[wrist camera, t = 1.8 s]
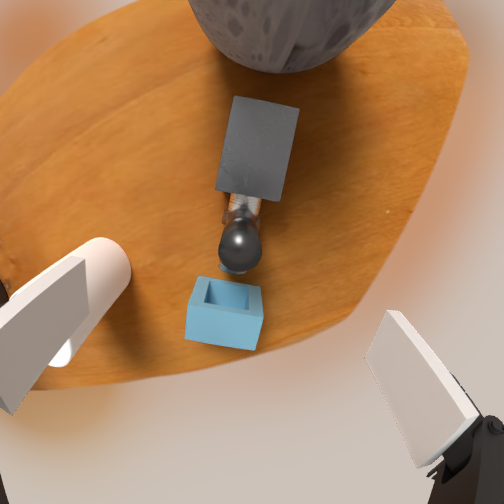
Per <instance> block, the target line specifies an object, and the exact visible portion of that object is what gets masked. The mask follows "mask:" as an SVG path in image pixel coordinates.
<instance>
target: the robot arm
mask: <svg viewBox="0 0 504 504" xmlns="http://www.w3.org/2000/svg"><path fill="white" fill-rule="evenodd" d="M89 314H90V313H89V304H88V294H87V282H86V265H85V258H81V257H76V256H72V255H71V256H70V257H68V258H67V259H65V260H64V261H62V262H61V263H59V264H58V265H57V266H55V267H54V268H52V269H51V270H50V271H48V272H47V273H45V274H44V275H43V276H41V277H40V278H38V279H37V280H36V281H34V282H33V283H32V284H30V285H29V286H28V287H26V288H25V289H24V290H23V291H21V292H20V293H19V294H17V295H16V296H15V297H14V298H12V299H11V300H10V301H9V300H8V297H7V294H6V292H5V289H4V287H3V285H2V283H1V281H0V408H2V409H3V410H5V411H6V412H8V413H9V414H11V415H13V414H14V412H15V411H16V409H17V408H18V406H19V405H20V403H21V402H22V401H23V399H24V398H25V396H26V395H27V393H28V392H29V390H30V389H31V388H32V386H33V385H34V383H35V382H36V381H37V379H38V378H39V376H40V375H41V374H42V372H43V371H44V370H45V368H46V367H47V366H48V364H49V363H50V362H51V360H52V359H53V358H54V357H55V355H56V354H57V353H58V351H59V350H60V349H61V348H62V346H63V345H64V344H65V343H66V341H67V340H68V339H69V338H70V336H71V335H72V334H73V333H74V332H75V330H76V329H77V328H78V327H79V326H80V324H81V323H82V322H83V321H84V320H85V319H86V317H87V316H88V315H89ZM364 358H365V360H366V362H367V364H368V366H369V368H370V370H371V372H372V374H373V376H374V378H375V380H376V381H377V384H378V386H379V388H380V390H381V391H382V394H383V396H384V398H385V400H386V402H387V404H388V406H389V408H390V410H391V413H392V415H393V417H394V419H395V421H396V423H397V425H398V427H399V430H400V432H401V434H402V436H403V438H404V441H405V443H406V445H407V447H408V450H409V452H410V454H411V456H412V459H413V461H414V463H415V466H416V468H417V469H418V468H421V467H424V466H427V465H430V464H432V463H433V462H434V461H435V460H437V459H438V458H439V457H440V456H441V455H443V457H444V460H443V461H442V462H441V463H439V464H438V465H437V466H436V467H435V468H434V469H432V470H431V471H430V472H429V473H428V475H427V477H430V476H431V475H432V474H433V473H435V472H436V471H437V474H436V475H434V476H433V477H432V479H434V480H435V482H434V485H433V489H432V492H431V495H430V498H429V501H428V504H504V425H503V423H502V422H501V421H500V420H499V419H498V418H496V417H495V416H491V415H488V416H486V417H485V418H484V417H483V416H482V415H481V413H480V411H479V410H478V409H477V407H476V406H475V404H474V403H473V401H472V400H471V399H470V397H469V396H468V394H467V393H465V390H464V389H463V387H462V386H460V384H459V382H458V381H457V379H456V378H455V377H454V376H453V375H452V374H451V373H450V372H449V371H448V370H447V369H446V367H445V366H444V365H443V363H442V362H441V361H440V360H439V358H438V357H437V356H436V355H435V353H434V352H433V351H432V349H431V348H430V347H429V346H428V344H427V343H426V342H425V341H424V340H423V338H422V337H421V336H420V335H419V334H418V332H416V330H415V329H414V328H413V326H412V325H411V324H410V323H409V322H408V320H407V319H406V318H405V317H404V316H403V314H402V313H401V312H400V311H394V310H386V313H385V315H384V317H383V319H382V322H381V324H380V326H379V328H378V330H377V333H376V335H375V337H374V339H373V341H372V343H371V345H370V347H369V349H368V351H367V353H366V355H365V357H364ZM0 504H9V502H8V499H7V496H6V493H5V489H4V486H3V482H2V478H1V474H0Z"/></svg>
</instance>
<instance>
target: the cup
mask: <svg viewBox="0 0 504 504" xmlns="http://www.w3.org/2000/svg"><path fill="white" fill-rule="evenodd" d="M71 255H72V256H76V257H81V258H85V265H86V282H87V294H88V304H89V313H90V314H89V315H88V316H87V317H86V319H85V320H84V321H83V322H82V323H81V324H80V326H79V327H78V328H77V329H76V330H75V332H74V333H73V334H72V335H71V336H70V338H69V339H68V340H67V341H66V343H65V344H64V345H63V346H62V348H61V349H60V350H59V351H58V353H57V354H56V355H55V357H54V358H53V359H52V360H51V362H50V363H49V364H48V365H50V366H53V367H63V366H65V365H66V364H68V363H69V361H70V360H71V359H72V357H73V356H74V355H75V353H76V352H77V350H78V349H79V348H80V346H81V345H82V344H83V342H84V341H85V340H86V338H87V337H88V335H89V334H90V333H91V331H92V330H93V329H94V327H95V326H96V325H97V324H98V322H99V321H100V320H101V318H102V317H103V316H104V314H105V313H106V312H107V311H108V309H109V308H110V307H111V306H112V304H113V303H114V302H115V301H116V299H117V298H118V297H119V296H120V294H121V293H122V292H123V291H124V289H125V288H126V287H127V286H128V284H129V282H130V278H131V266H130V262H129V259H128V257H127V255H126V253H125V252H124V250H123V249H122V248H121V247H120V246H119V245H118V244H117V243H115V242H114V241H112V240H110V239H107V238H102V237H99V238H94V239H91V240H90V241H88V242H86V243H85V244H83V245H82V246H80V247H79V248H77V249H76V250H74V251H72V252H71V253H69V254H68V255H66V256H65V257H63V258H62V259H60V260H59V261H57V262H56V263H55V264H53V265H52V266H50V267H49V268H47V269H46V270H44V271H43V272H42V273H40V274H39V275H37V276H36V277H35V278H33V279H32V280H31V281H29V282H28V283H27V284H25V285H24V286H23V287H21V288H20V289H19V290H17V291H16V292H15V293H14V294H13V295H12V296H11V297H10V299H9V301H10V300H11V299H12V298H14V297H15V296H16V295H17V294H19V293H20V292H21V291H23V290H24V289H25V288H26V287H28V286H29V285H30V284H32V283H33V282H34V281H36V280H37V279H38V278H40V277H41V276H43V275H44V274H45V273H47V272H48V271H50V270H51V269H52V268H54V267H55V266H57V265H58V264H59V263H61V262H62V261H64V260H65V259H67V258H68V257H70V256H71Z"/></svg>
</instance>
